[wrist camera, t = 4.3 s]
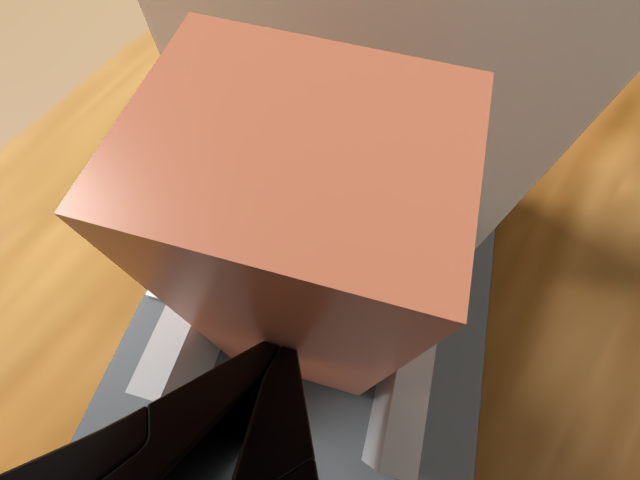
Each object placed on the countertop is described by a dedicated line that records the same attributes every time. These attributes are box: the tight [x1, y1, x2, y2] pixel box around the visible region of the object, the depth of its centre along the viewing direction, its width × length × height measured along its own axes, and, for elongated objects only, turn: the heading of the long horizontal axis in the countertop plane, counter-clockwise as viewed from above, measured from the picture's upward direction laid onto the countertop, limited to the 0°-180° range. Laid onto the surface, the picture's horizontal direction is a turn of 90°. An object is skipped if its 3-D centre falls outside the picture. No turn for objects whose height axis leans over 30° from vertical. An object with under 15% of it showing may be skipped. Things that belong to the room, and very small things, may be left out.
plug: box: [54, 12, 494, 396], centre depth 10 cm, size 4×5×11 cm
